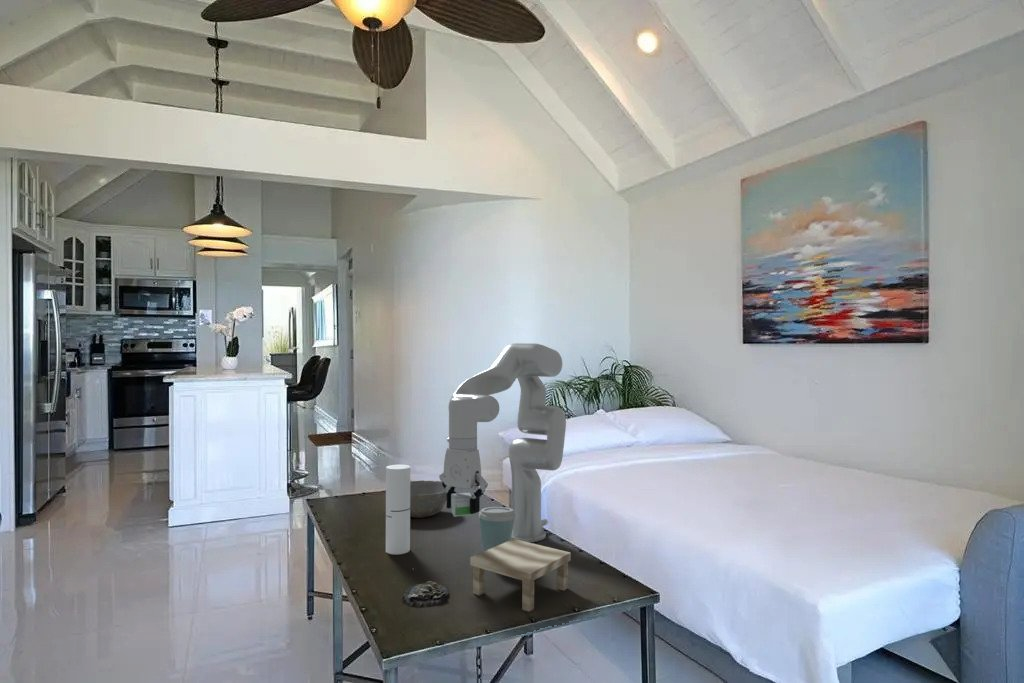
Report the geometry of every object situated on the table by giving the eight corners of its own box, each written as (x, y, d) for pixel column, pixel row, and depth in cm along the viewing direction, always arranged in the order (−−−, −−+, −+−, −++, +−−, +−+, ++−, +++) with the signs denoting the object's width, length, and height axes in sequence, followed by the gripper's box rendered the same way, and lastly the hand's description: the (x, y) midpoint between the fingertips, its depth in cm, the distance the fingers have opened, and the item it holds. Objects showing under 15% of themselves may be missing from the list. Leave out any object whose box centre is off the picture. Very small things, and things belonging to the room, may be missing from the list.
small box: (453, 517, 157) (453, 498, 157) (450, 511, 163) (450, 493, 163) (475, 515, 159) (475, 497, 159) (471, 509, 164) (471, 491, 164)
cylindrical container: (404, 555, 177) (405, 469, 177) (381, 553, 178) (382, 468, 178) (413, 547, 184) (413, 465, 184) (391, 545, 185) (391, 464, 185)
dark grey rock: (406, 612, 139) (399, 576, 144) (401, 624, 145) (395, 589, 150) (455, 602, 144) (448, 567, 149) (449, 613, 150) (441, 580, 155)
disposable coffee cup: (472, 557, 175) (473, 505, 175) (507, 552, 179) (507, 502, 179) (485, 569, 165) (485, 514, 165) (521, 564, 169) (521, 511, 169)
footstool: (513, 572, 164) (513, 538, 164) (570, 588, 153) (570, 552, 153) (470, 593, 149) (470, 557, 149) (529, 613, 138) (529, 573, 138)
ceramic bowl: (377, 516, 216) (377, 488, 217) (421, 503, 235) (421, 477, 235) (422, 527, 204) (422, 497, 204) (465, 512, 223) (466, 485, 223)
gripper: (429, 442, 163) (429, 507, 163) (478, 449, 152) (478, 519, 152) (449, 438, 169) (448, 501, 169) (497, 445, 158) (497, 512, 158)
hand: (462, 509), depth 161 cm, fingers closed on small box, 7 cm apart
